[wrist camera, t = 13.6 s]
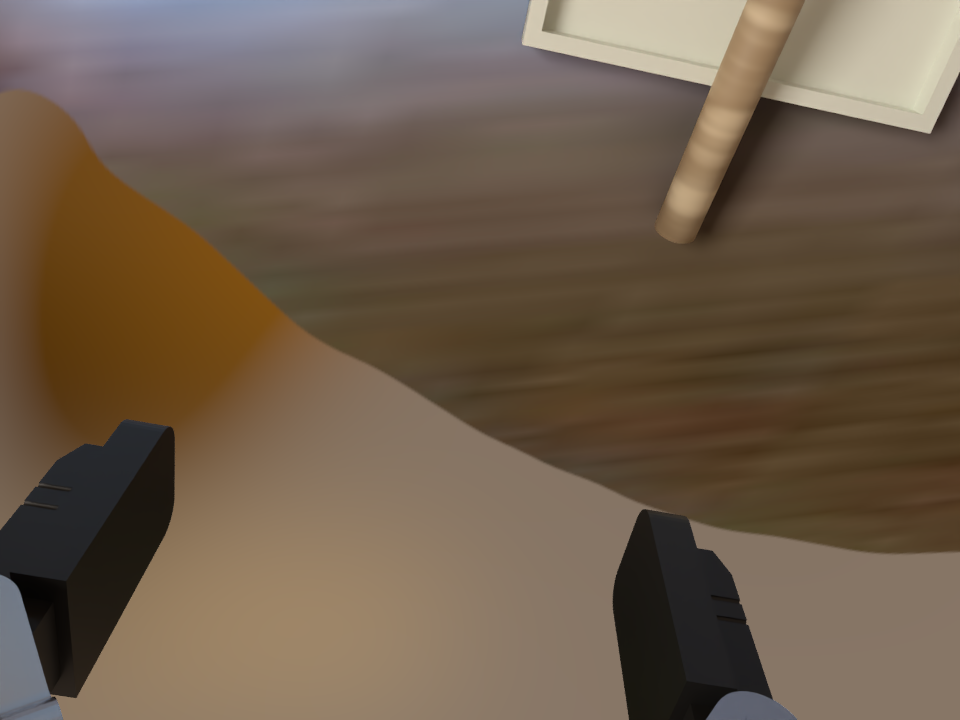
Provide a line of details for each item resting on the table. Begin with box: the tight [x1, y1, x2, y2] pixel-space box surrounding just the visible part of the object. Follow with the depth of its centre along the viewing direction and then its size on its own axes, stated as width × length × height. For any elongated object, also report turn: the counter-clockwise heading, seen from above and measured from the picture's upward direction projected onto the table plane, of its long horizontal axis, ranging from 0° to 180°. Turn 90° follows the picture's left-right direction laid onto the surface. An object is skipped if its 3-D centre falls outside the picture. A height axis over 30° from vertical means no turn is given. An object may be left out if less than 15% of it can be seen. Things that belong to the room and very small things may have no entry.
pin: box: [655, 0, 805, 244], centre depth 40 cm, size 6×2×16 cm
